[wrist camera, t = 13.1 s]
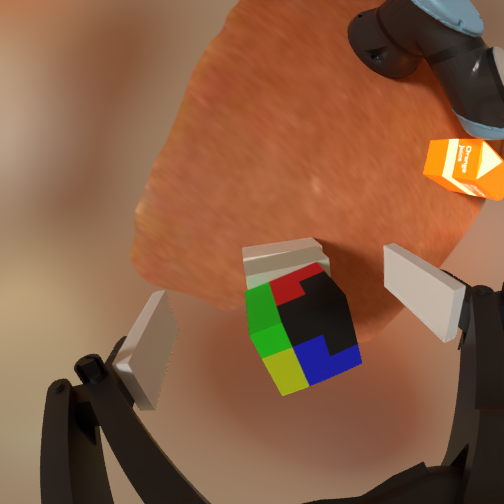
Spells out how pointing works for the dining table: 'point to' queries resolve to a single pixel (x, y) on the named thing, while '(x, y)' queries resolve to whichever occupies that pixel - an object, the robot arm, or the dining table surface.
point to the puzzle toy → (302, 328)
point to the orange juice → (466, 167)
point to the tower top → (282, 265)
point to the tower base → (278, 248)
